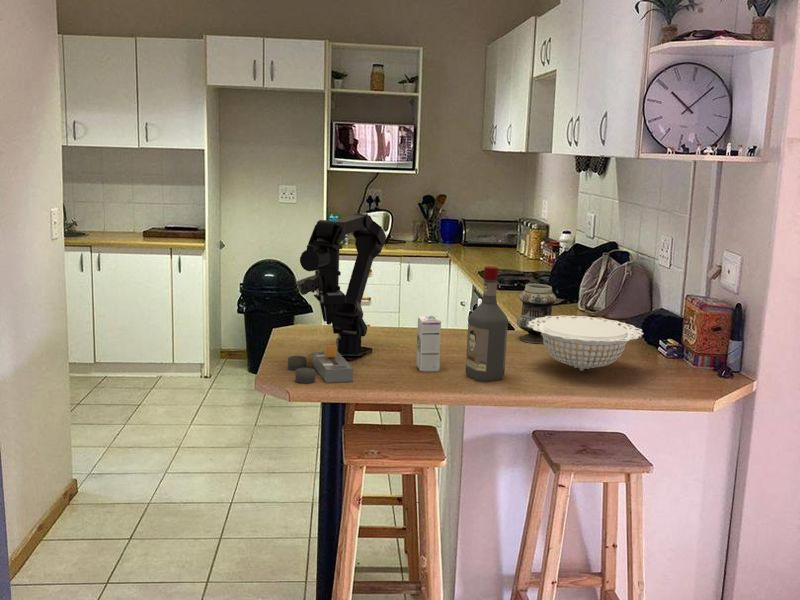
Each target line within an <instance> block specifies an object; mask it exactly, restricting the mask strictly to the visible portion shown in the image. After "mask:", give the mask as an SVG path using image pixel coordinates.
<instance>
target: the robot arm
mask: <svg viewBox="0 0 800 600" xmlns="http://www.w3.org/2000/svg"><path fill="white" fill-rule="evenodd" d="M349 234H352V236H353V238H354V240H355V241H354V245H355V248H356V252H357V255H356V257H355V261H354V265H353V268H352V272H351V275H350V279H349V283H348V285H347V289H346V293H344V292H343V291H342V290H341V286H340V285H339V284H340V283H339V280H340V278H339V277H340V276H341V274H342V273H341V271H340V250H343V248H344V247H343V245H342V244H341V242H342V241H343V240H345V239H346V235H349ZM386 240H387V236H386V233H385V231H384V230H383V228H382V226H381V225H380V224H378V223H377V222H375V221H374V219H373V218H372V217H371V215H369V214H365V213H363V214H362V213H355V214H352V215H350V216H347V217H346V216H345V217H344V218H341V219H337V220H329V219H328V220H327V219H319V220H318V221H316V224H315V225H314V228H313V229H312V233H311V236H310V238H309V240H308V244H307V245H306V250H303V252H302V253H301V255H300V257H299V263H300V266H301V267H302V269H303V270H305V271H306V272H313V271H314V274H313V275H311V276H307V277H305V278H302V279H300V280H297V281H295V283H296V287H297V289H298V292H299V294H300V295H302V296H304V295H307V294H308V293H313V297H314V298H316V300H317V301H318V302H319V307H320V310H321V311H320V312H321V315H322V320H323V322H326V325H328V326H329V325H331V326H332V331H333V334H338V335H337V337H336V339H335V342H336V343H335V345H336V346H337V351H338V352H339V353H340V354H341V353H342V354H357V353H361V355H360V356H361V357H363V354H362V337H366V335H367V331H368V326H367V324H366V322H365V321H364V319H363V317H364V310H363V308H362V300H363V297H364V294H365V290H366V286H367V284H368V283H367V282H368V279H369V275H370V272H371V269H372V266H373V262H374V259H375V258H376V257H378V255H380V253H382V250H383V248H384V245H385V243H386ZM315 293H316V294H315Z"/></svg>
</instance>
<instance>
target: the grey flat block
mask: <svg viewBox="0 0 800 600" xmlns="http://www.w3.org/2000/svg"><path fill="white" fill-rule="evenodd" d="M312 365H313V367H314V368H315V370H317V372H318V374H319V375H320V376H321V378H322V379H323V380H324V382H325V383H327V384H331V383H350V382H353V381H354V380H353V379H354V367H352V365H351V364H350V363H349V362H348V361H347V360H346V359H345V357H342V355H341V354H340V353H339V352H338V351H337V357H325V356H324V351H313V352H312Z"/></svg>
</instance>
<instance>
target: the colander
mask: <svg viewBox="0 0 800 600" xmlns="http://www.w3.org/2000/svg"><path fill="white" fill-rule="evenodd" d="M549 317H551V318H549ZM537 321H538V322H537ZM532 322H533V323H532ZM539 322H540V323H539ZM543 322H544V323H543ZM528 323H529V325H528V327H530V328H533V330H535V331H538V332H541V335H542V336H543V342H544V343H543V344H544V348H545V350H546V351H547V353H548V354H549V356H550V357H551V358H553V359H554V360H555V361H558V362H559V363H562V364H565V365H569V366H570V367H573V368H574V369H576V368H578V369H579V371H580V372H581V371H584V369H588V370H589V369H590V368H591V369H594V368H600V367H606V366H609V365H611V364H613V363H615V362H616V361H617V360H619V357H620V356H622V354H623V352H624V351H625V347H626V345H627V343H628V342H630V341H634V340H639V338H642V336H643V335H644V332H643V329H641V328H639V327H636V326H635V325H633V324H629V323H626V322H621V321H619V320H614V319H607V318H603V317H591V316H585V315H580V316H579V315H578V316H577V315H551V316H545V317H541V318H536V319H535V320H532V321H529V322H528ZM538 325H539V326H538ZM532 326H533V327H532ZM545 341H546V342H545ZM547 341H548V343H547ZM564 348H565V349H564ZM596 351H598V352H596Z"/></svg>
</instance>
